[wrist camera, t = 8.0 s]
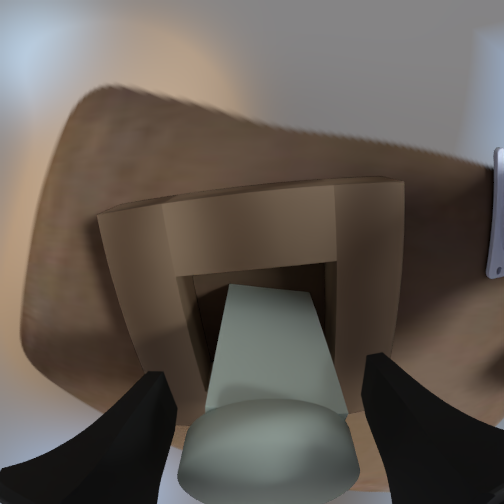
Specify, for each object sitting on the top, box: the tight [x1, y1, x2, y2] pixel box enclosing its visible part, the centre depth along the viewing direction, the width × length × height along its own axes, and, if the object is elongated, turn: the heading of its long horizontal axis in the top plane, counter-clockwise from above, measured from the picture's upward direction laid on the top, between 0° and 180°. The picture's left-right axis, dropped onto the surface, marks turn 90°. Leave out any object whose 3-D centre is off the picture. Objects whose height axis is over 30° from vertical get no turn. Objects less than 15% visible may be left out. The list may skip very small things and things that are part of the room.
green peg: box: [177, 284, 360, 504], centre depth 11 cm, size 5×5×10 cm
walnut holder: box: [97, 176, 405, 426], centre depth 14 cm, size 12×12×2 cm
